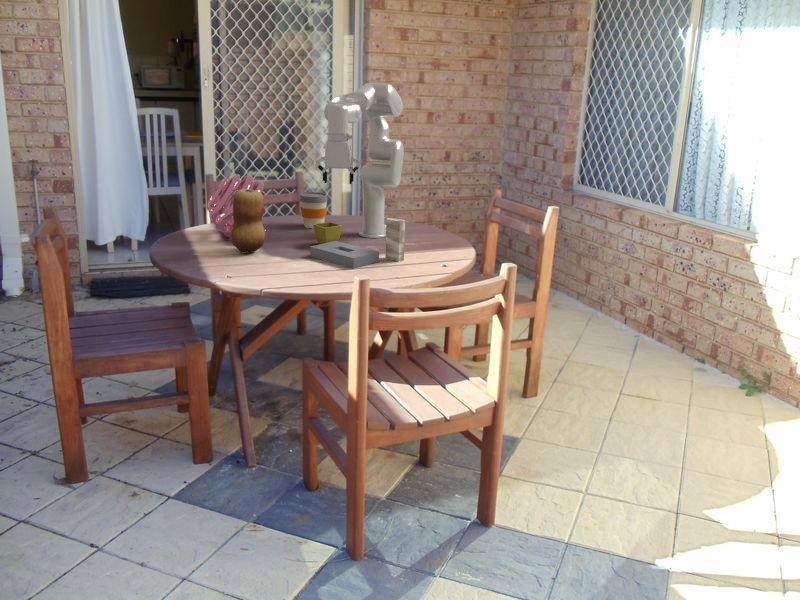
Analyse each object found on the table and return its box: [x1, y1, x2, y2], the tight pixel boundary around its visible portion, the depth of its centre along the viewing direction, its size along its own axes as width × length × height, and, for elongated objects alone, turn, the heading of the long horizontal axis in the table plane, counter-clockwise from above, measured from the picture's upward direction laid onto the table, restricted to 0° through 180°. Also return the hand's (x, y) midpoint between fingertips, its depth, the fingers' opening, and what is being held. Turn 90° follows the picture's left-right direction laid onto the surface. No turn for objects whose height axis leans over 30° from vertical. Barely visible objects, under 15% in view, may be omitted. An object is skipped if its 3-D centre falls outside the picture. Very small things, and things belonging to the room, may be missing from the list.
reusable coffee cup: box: [299, 191, 328, 230], centre depth 337 cm, size 13×13×15 cm
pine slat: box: [385, 217, 406, 262], centre depth 286 cm, size 3×7×16 cm, turn 49°
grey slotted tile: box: [309, 241, 380, 269], centre depth 287 cm, size 14×24×4 cm, turn 49°
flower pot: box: [313, 221, 342, 245], centre depth 305 cm, size 9×9×9 cm
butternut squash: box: [230, 188, 266, 253], centre depth 290 cm, size 14×13×25 cm
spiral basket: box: [207, 173, 267, 239], centre depth 314 cm, size 28×28×27 cm
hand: (338, 183), depth 283 cm, fingers open, 9 cm apart
